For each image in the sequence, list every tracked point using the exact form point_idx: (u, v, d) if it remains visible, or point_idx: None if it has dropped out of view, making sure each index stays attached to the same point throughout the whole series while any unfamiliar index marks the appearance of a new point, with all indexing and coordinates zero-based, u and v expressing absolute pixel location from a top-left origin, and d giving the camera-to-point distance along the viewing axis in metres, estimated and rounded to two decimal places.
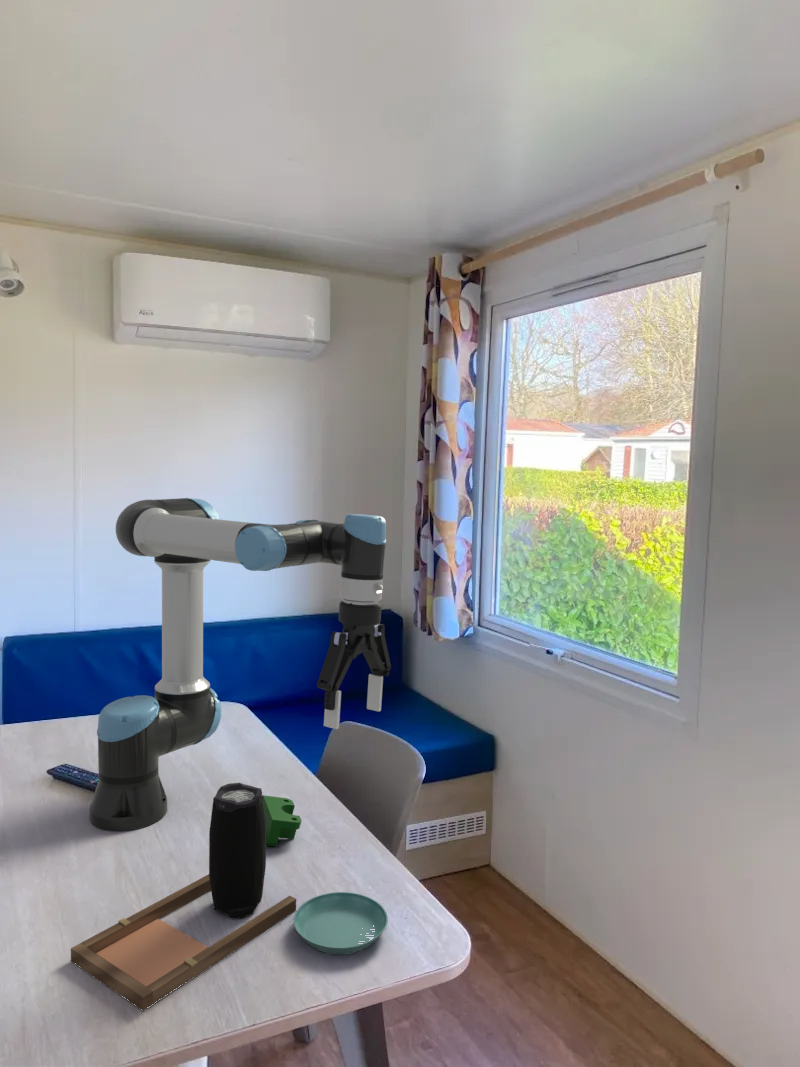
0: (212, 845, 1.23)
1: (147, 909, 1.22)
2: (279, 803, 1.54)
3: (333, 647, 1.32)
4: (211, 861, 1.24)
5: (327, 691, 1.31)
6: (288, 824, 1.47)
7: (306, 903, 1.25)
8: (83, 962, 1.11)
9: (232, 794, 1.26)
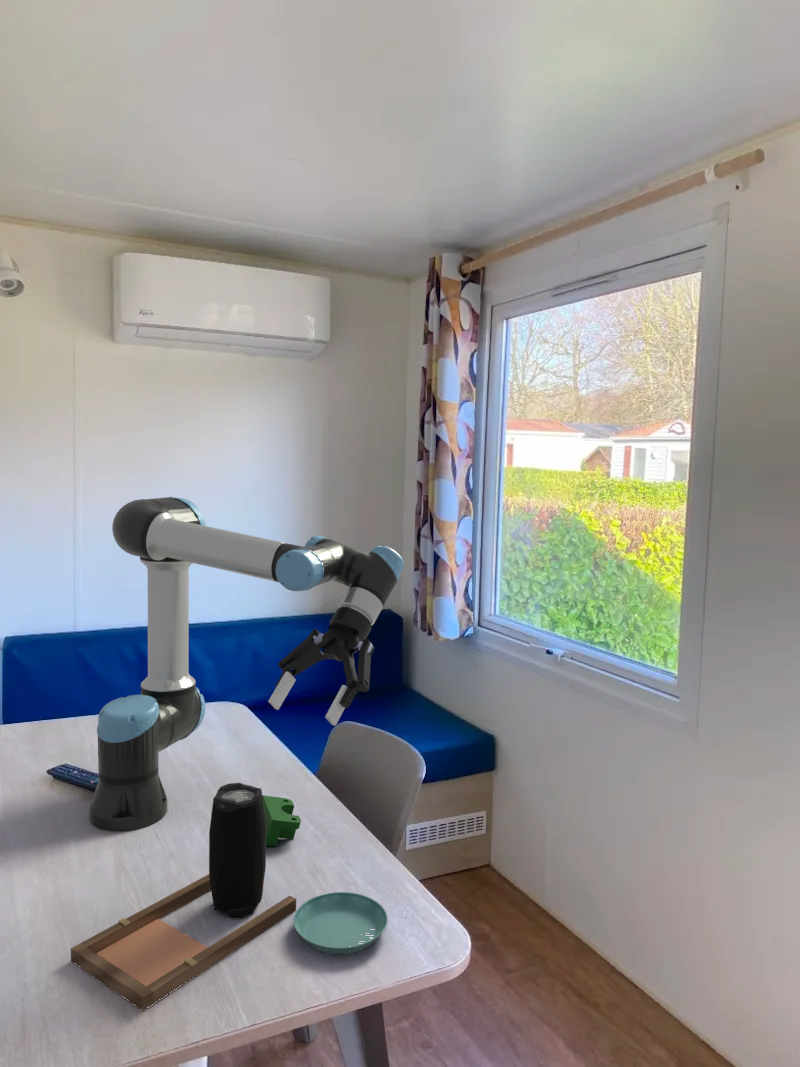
0: (212, 845, 1.23)
1: (147, 909, 1.22)
2: (279, 803, 1.54)
3: (367, 653, 1.39)
4: (211, 861, 1.24)
5: (354, 690, 1.35)
6: (288, 824, 1.47)
7: (306, 903, 1.25)
8: (83, 962, 1.11)
9: (232, 794, 1.26)
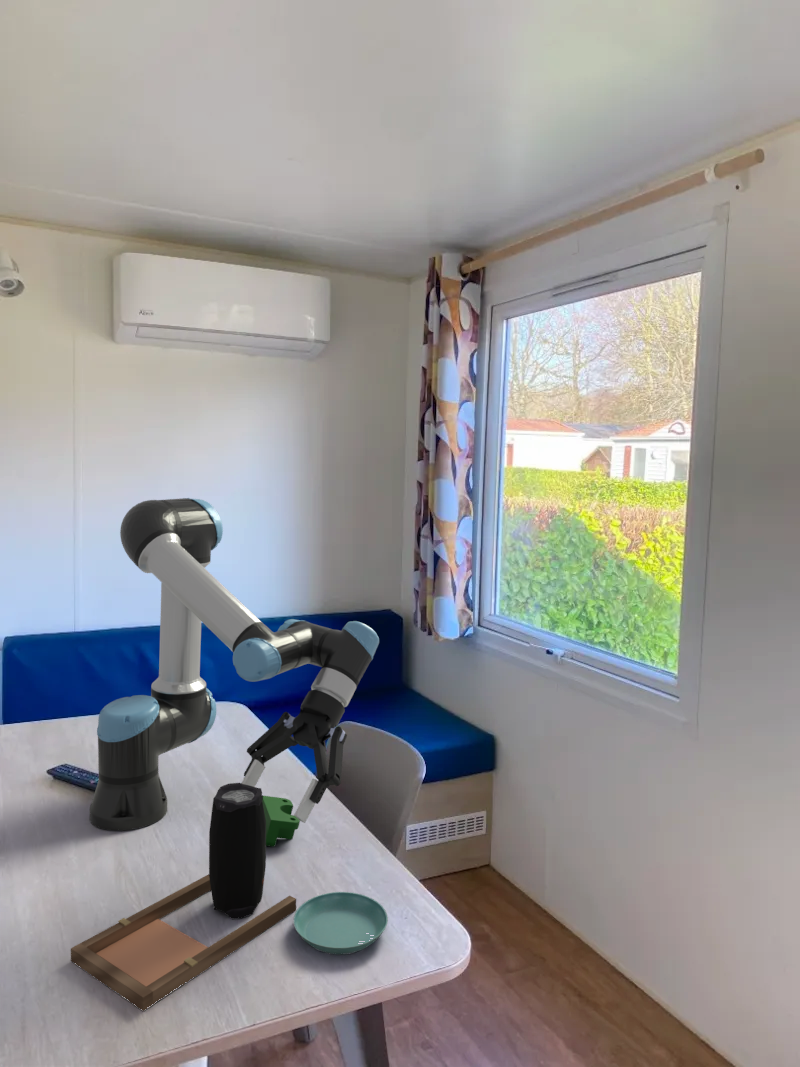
0: (212, 845, 1.23)
1: (147, 909, 1.22)
2: (278, 803, 1.54)
3: (339, 742, 1.33)
4: (211, 861, 1.24)
5: (325, 784, 1.28)
6: (287, 824, 1.47)
7: (306, 903, 1.25)
8: (83, 962, 1.11)
9: (232, 794, 1.26)
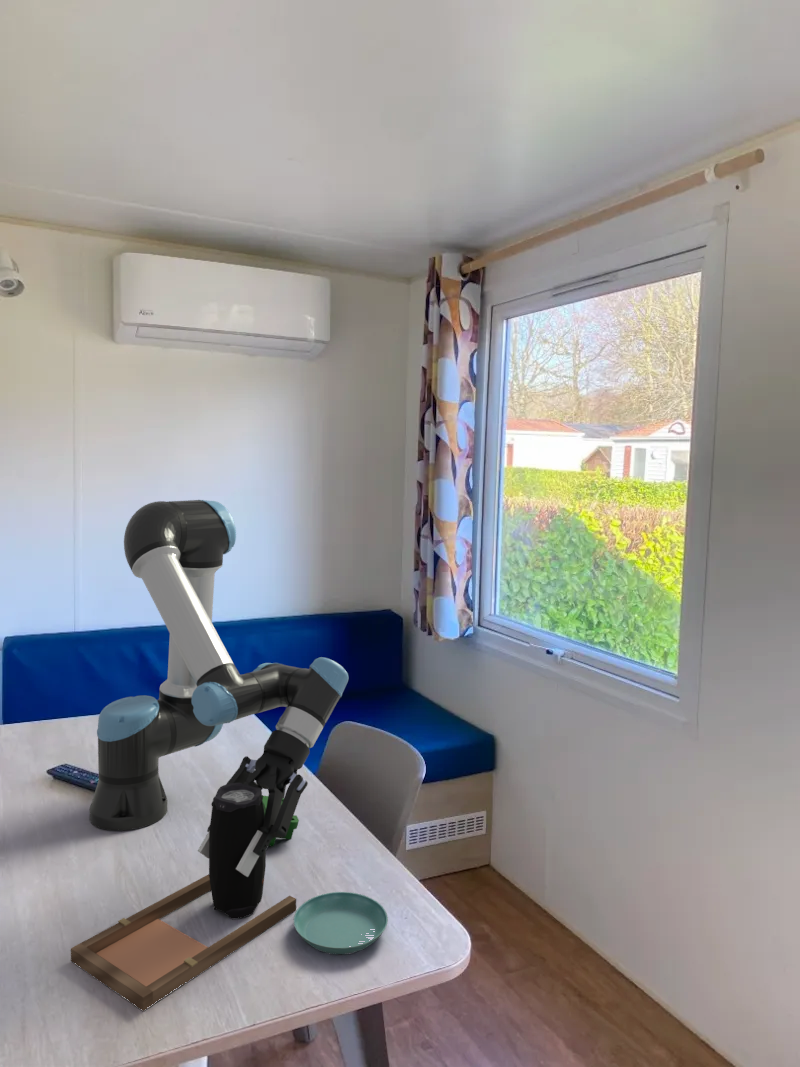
0: (212, 845, 1.23)
1: (147, 909, 1.22)
2: None
3: (295, 792, 1.27)
4: (211, 861, 1.24)
5: (270, 836, 1.24)
6: None
7: (306, 903, 1.25)
8: (83, 962, 1.11)
9: (232, 794, 1.26)
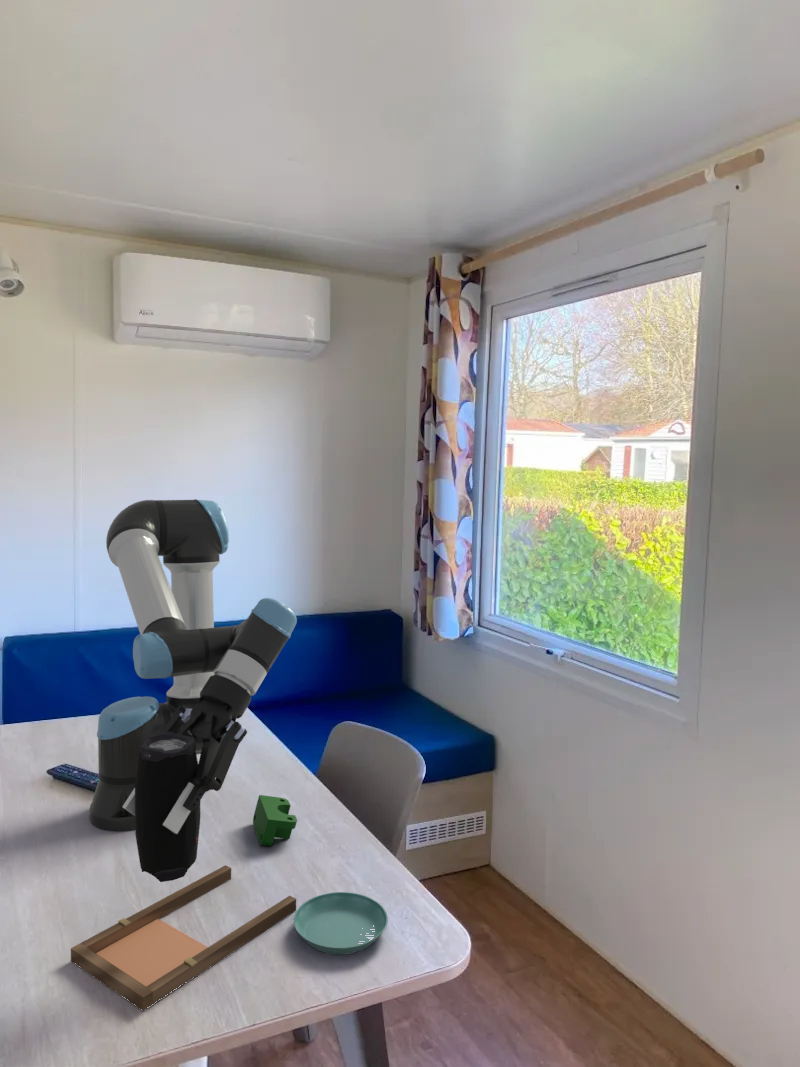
0: (137, 799, 1.10)
1: (147, 909, 1.22)
2: (275, 803, 1.54)
3: (233, 741, 1.14)
4: (137, 817, 1.10)
5: (203, 789, 1.11)
6: (284, 824, 1.47)
7: (306, 903, 1.25)
8: (83, 962, 1.11)
9: (161, 743, 1.13)
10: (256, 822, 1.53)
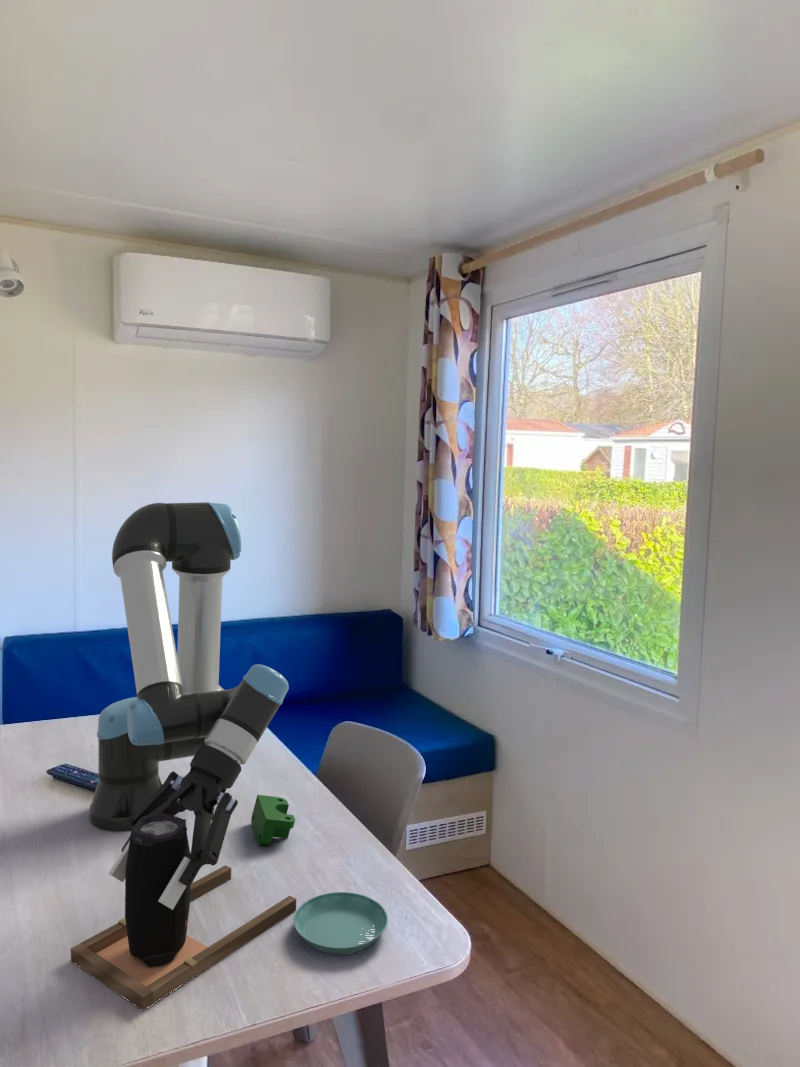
0: (128, 883, 1.11)
1: None
2: (274, 802, 1.54)
3: (225, 812, 1.14)
4: (126, 901, 1.11)
5: (199, 863, 1.10)
6: (282, 823, 1.47)
7: (306, 903, 1.25)
8: (83, 962, 1.11)
9: (153, 826, 1.14)
10: (254, 822, 1.53)
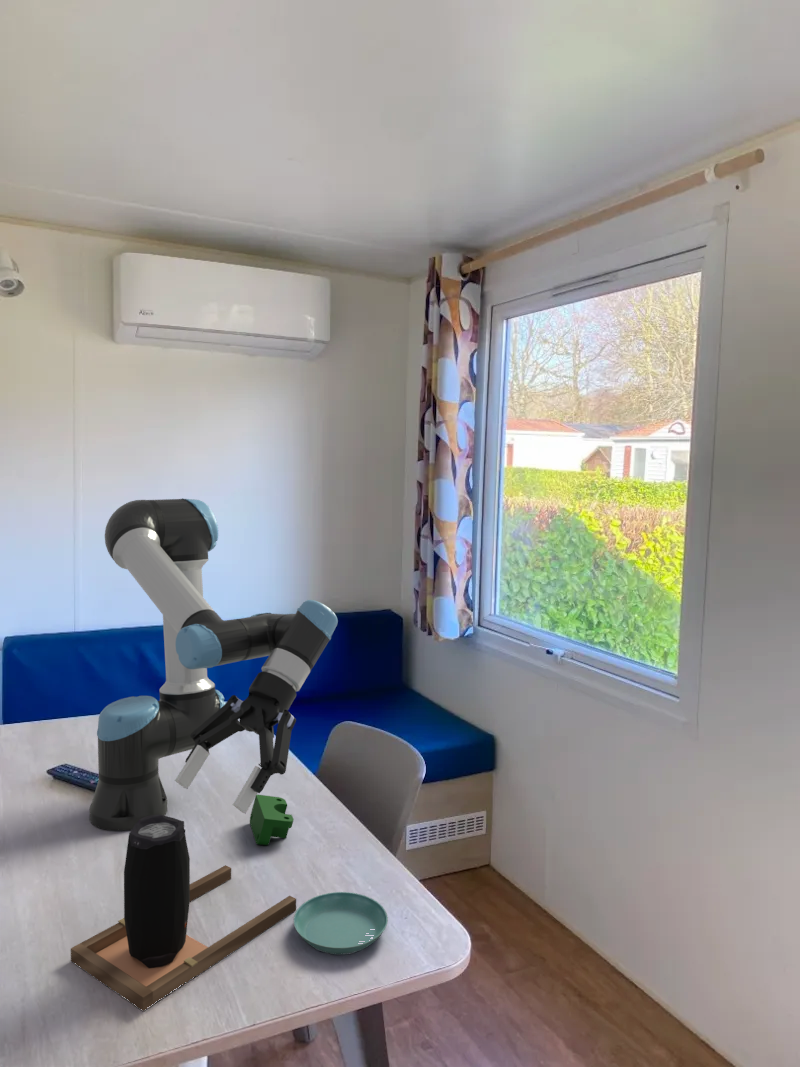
0: (126, 886, 1.10)
1: None
2: (272, 802, 1.55)
3: (286, 728, 1.23)
4: (125, 904, 1.11)
5: (269, 772, 1.19)
6: (280, 823, 1.47)
7: (306, 903, 1.25)
8: (83, 962, 1.11)
9: (151, 828, 1.13)
10: (253, 821, 1.53)
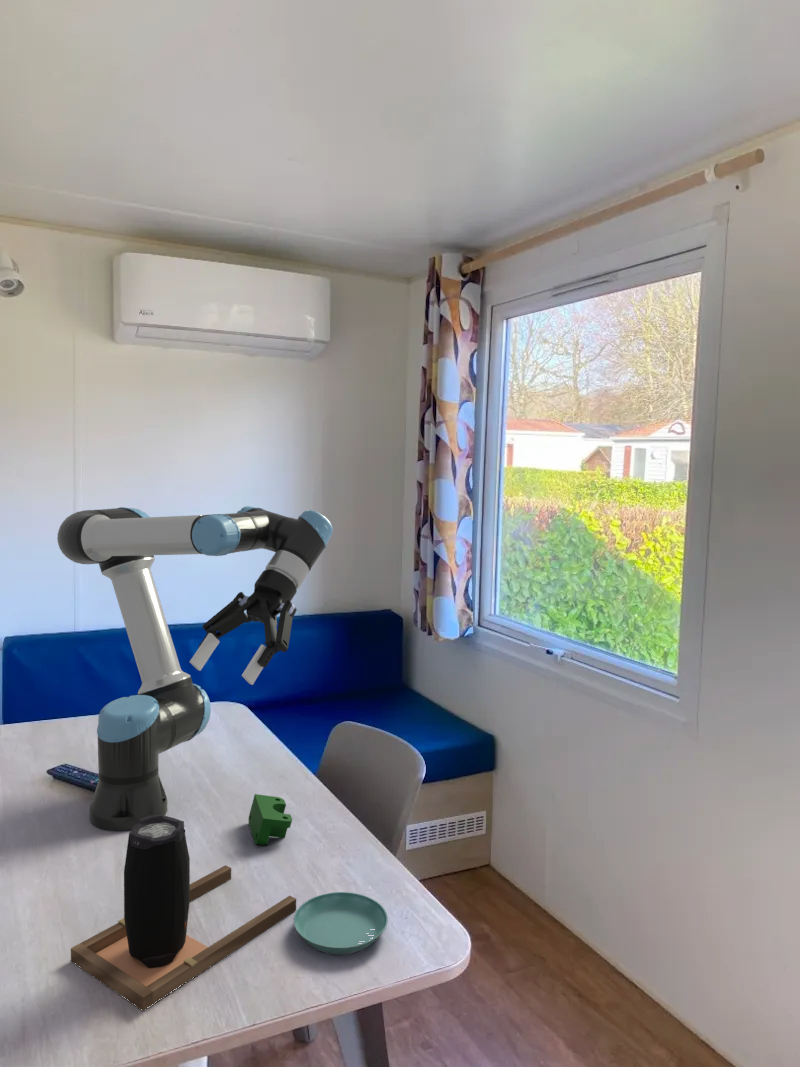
0: (126, 886, 1.10)
1: None
2: (271, 802, 1.55)
3: (288, 614, 1.39)
4: (125, 903, 1.11)
5: (273, 650, 1.35)
6: (279, 823, 1.47)
7: (306, 903, 1.25)
8: (83, 962, 1.11)
9: (151, 828, 1.13)
10: (251, 821, 1.54)
